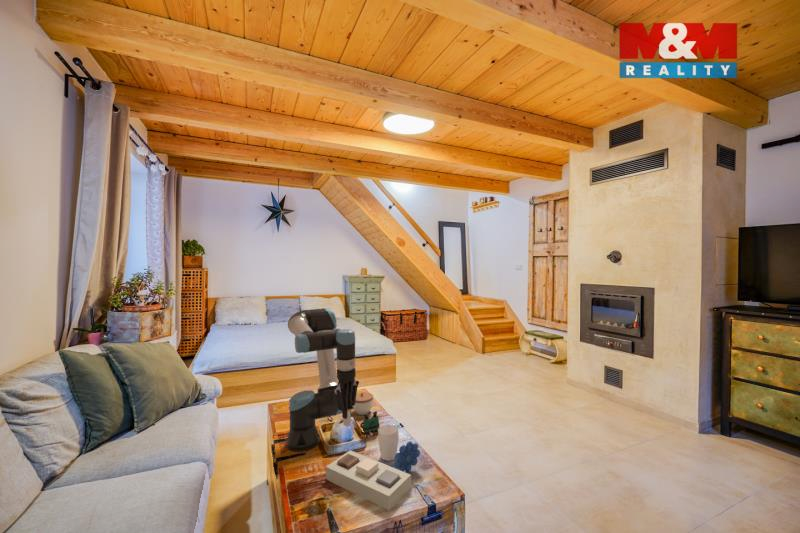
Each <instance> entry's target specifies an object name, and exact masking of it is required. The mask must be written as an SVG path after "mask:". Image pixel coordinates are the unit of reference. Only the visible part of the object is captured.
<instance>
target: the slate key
mask: <svg viewBox="0 0 800 533" xmlns="http://www.w3.org/2000/svg"><path fill="white" fill-rule="evenodd" d="M399 480H400V477H399V474H396V473H394V472H391V471H389V470H385V471H384V472H383V473H382V474H381V475H379V476H378V477H377V483H379V484H382V485H384V486H386V487H388V488H391V487H392V486H393V485H394V484H395V483H397V482H398V481H399Z"/></svg>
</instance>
